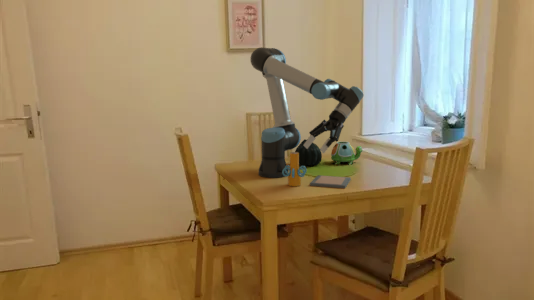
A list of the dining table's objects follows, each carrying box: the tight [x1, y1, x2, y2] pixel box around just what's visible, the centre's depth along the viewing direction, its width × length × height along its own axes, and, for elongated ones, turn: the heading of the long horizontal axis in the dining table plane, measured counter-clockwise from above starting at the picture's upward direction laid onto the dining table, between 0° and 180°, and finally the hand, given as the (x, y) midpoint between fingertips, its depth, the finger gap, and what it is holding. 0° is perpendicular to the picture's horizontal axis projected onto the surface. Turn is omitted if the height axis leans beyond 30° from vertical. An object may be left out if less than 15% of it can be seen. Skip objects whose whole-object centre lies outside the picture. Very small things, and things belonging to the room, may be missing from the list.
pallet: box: [309, 175, 352, 189], centre depth 198 cm, size 16×16×1 cm
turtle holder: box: [330, 141, 363, 165], centre depth 242 cm, size 12×18×12 cm
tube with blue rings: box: [282, 151, 307, 187], centre depth 193 cm, size 12×10×15 cm
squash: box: [294, 139, 323, 167], centre depth 237 cm, size 14×15×15 cm
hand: (313, 149), depth 195 cm, fingers open, 13 cm apart
